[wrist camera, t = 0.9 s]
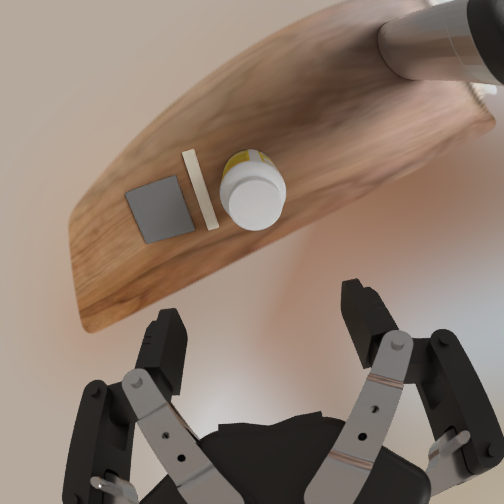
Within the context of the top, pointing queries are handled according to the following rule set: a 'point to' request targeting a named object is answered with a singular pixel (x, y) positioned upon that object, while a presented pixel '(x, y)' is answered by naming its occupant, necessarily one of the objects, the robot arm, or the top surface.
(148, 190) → the mat
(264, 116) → the top surface
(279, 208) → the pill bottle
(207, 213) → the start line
